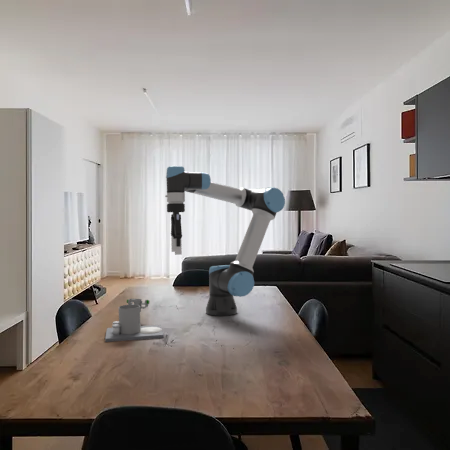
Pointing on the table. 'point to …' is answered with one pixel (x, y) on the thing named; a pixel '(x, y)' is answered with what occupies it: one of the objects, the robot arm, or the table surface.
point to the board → (145, 333)
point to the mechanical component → (138, 303)
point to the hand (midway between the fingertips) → (176, 253)
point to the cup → (129, 319)
